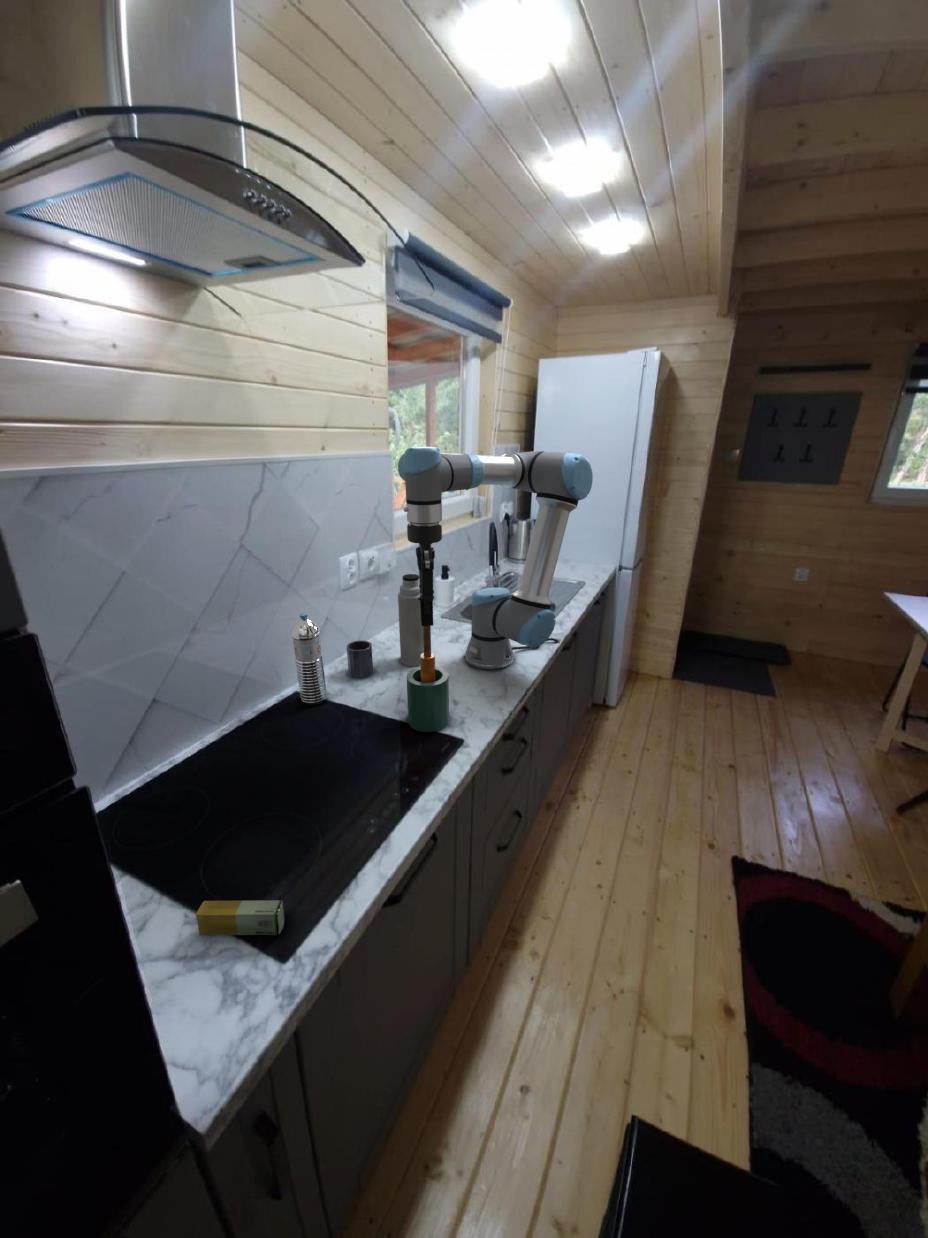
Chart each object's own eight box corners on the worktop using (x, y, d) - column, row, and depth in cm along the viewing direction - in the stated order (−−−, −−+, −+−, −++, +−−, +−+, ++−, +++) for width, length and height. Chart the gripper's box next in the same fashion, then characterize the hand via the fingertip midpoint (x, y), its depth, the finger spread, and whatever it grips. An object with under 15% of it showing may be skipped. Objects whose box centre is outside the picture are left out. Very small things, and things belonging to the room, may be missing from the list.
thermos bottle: (398, 656, 159) (394, 573, 148) (422, 653, 161) (420, 570, 150) (403, 667, 152) (399, 580, 141) (428, 664, 154) (427, 578, 144)
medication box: (286, 920, 76) (284, 899, 75) (280, 936, 73) (278, 914, 72) (206, 920, 75) (202, 899, 74) (197, 936, 73) (194, 915, 71)
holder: (373, 666, 153) (371, 639, 149) (373, 677, 146) (371, 650, 142) (349, 667, 152) (347, 641, 148) (348, 679, 145) (345, 651, 141)
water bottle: (319, 708, 131) (309, 620, 121) (296, 705, 132) (283, 618, 122) (331, 694, 137) (322, 610, 127) (308, 692, 138) (297, 608, 128)
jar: (446, 708, 131) (445, 664, 126) (450, 730, 122) (450, 684, 117) (407, 711, 130) (405, 667, 125) (409, 733, 120) (407, 687, 115)
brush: (434, 677, 123) (432, 581, 114) (436, 684, 120) (434, 586, 110) (420, 677, 123) (417, 582, 113) (421, 685, 120) (418, 587, 110)
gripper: (405, 516, 113) (409, 612, 122) (408, 530, 99) (412, 637, 108) (438, 515, 114) (439, 610, 123) (445, 529, 100) (446, 635, 109)
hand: (426, 623), depth 116 cm, fingers closed on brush, 2 cm apart
